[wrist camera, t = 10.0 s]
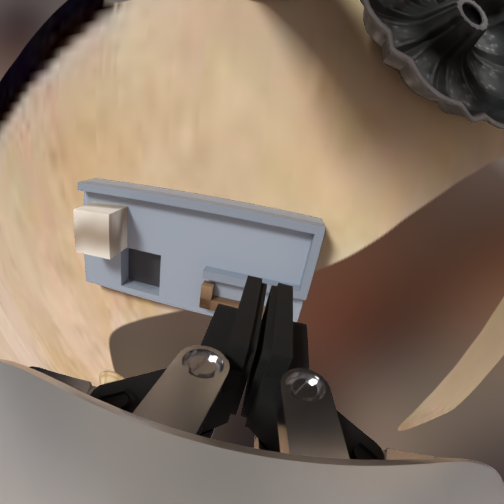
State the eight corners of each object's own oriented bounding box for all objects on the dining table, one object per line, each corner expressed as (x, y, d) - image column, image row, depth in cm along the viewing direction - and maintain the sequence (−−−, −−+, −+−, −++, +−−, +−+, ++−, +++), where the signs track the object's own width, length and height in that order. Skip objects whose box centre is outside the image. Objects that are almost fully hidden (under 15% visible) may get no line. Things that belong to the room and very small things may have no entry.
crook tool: (204, 280, 37) (201, 285, 36) (275, 295, 36) (275, 301, 35) (201, 301, 38) (199, 307, 37) (270, 317, 38) (269, 323, 36)
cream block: (94, 201, 35) (73, 209, 31) (127, 206, 35) (108, 214, 31) (94, 240, 37) (75, 251, 33) (127, 247, 37) (109, 259, 32)
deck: (95, 178, 37) (77, 182, 33) (322, 218, 35) (325, 227, 31) (94, 274, 42) (80, 284, 38) (293, 323, 40) (293, 340, 37)
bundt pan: (303, 41, 28) (307, 5, 19) (388, -61, 19) (406, -96, 9) (467, 170, 30) (512, 181, 21) (522, 51, 21) (560, 41, 12)
